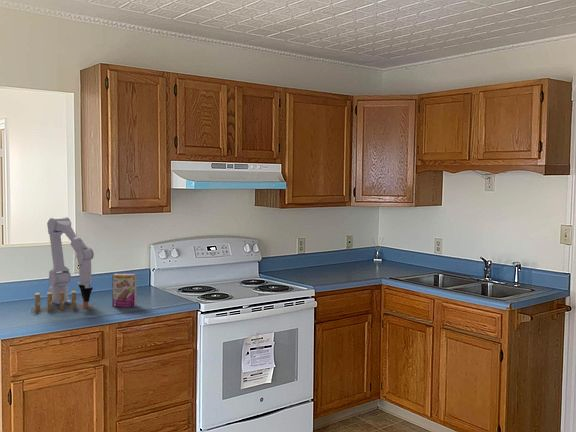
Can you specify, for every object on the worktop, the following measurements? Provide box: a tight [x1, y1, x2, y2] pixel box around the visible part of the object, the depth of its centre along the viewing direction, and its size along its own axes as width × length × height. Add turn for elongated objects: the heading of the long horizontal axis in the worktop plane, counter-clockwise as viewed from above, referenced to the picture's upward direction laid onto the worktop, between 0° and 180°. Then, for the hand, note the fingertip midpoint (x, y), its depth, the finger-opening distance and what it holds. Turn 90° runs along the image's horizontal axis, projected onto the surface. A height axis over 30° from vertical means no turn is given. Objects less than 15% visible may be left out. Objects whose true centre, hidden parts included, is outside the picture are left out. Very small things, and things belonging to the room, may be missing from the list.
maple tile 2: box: [46, 291, 53, 310], centre depth 285 cm, size 2×5×8 cm, turn 20°
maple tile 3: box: [59, 291, 65, 310], centre depth 287 cm, size 2×5×8 cm, turn 21°
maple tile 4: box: [71, 290, 77, 309], centre depth 289 cm, size 2×5×8 cm, turn 21°
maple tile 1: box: [34, 292, 41, 311], centre depth 283 cm, size 2×5×8 cm, turn 20°
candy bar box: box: [111, 273, 137, 308], centre depth 294 cm, size 11×5×16 cm, turn 92°
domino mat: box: [29, 303, 95, 314], centre depth 288 cm, size 29×12×1 cm, turn 110°
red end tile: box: [82, 298, 90, 308], centre depth 291 cm, size 2×5×8 cm, turn 26°
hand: (85, 300), depth 291 cm, fingers open, 7 cm apart
